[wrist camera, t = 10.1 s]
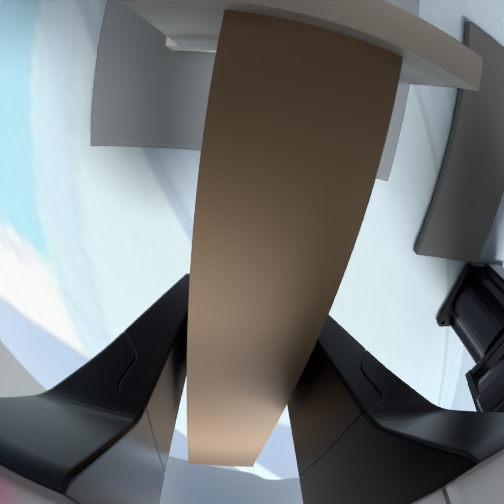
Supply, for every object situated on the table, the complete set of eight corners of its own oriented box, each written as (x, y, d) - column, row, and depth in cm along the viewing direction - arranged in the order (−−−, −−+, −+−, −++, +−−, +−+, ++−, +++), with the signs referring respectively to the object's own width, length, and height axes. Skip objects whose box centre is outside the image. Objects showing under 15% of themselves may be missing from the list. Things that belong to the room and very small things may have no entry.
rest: (472, 259, 19) (475, 262, 19) (413, 250, 18) (417, 254, 18) (521, 67, 11) (526, 68, 11) (465, 22, 10) (469, 21, 10)
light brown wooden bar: (273, 390, 13) (284, 473, 9) (167, 382, 12) (156, 467, 9) (370, 64, 6) (483, 58, 3) (185, 28, 6) (131, -36, 2)
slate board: (380, 176, 16) (387, 181, 15) (98, 142, 14) (90, 145, 13) (411, -27, 9) (420, -31, 8) (137, -72, 7) (133, -79, 6)
